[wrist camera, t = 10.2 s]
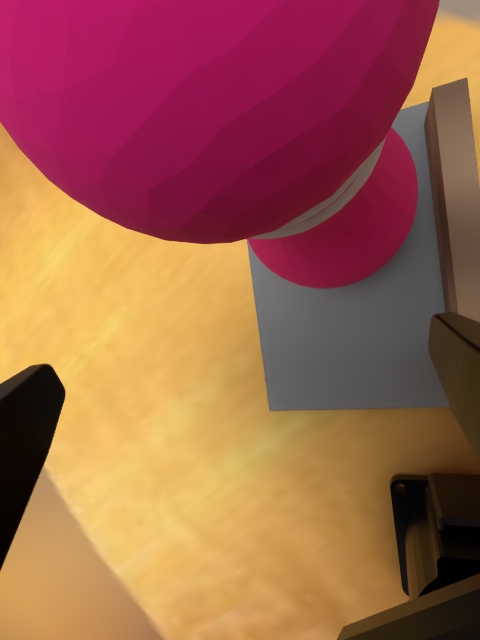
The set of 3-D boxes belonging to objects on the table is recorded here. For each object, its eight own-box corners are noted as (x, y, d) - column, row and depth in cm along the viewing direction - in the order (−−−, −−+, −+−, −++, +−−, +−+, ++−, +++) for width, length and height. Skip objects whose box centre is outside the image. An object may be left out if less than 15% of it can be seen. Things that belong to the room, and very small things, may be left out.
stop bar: (482, 386, 18) (503, 407, 15) (453, 387, 18) (469, 408, 15) (451, 116, 17) (467, 77, 14) (423, 124, 18) (432, 88, 15)
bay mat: (482, 404, 18) (484, 406, 18) (271, 408, 22) (269, 410, 22) (447, 99, 18) (449, 95, 17) (238, 161, 22) (236, 158, 22)
